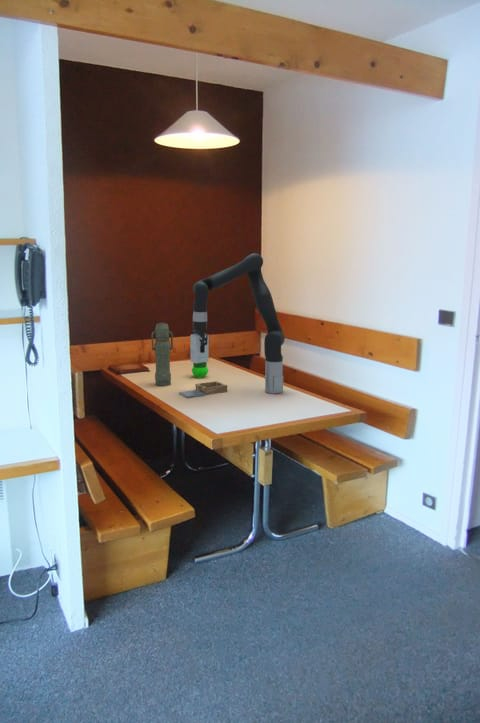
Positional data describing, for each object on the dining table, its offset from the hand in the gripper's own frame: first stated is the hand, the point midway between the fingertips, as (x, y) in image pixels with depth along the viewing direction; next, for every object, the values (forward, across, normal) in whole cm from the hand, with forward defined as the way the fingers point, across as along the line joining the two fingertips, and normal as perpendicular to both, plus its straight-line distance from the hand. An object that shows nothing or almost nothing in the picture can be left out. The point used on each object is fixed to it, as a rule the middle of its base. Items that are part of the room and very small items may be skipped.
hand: (199, 351), depth 304 cm
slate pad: (+23, -3, +6) cm, 23 cm away
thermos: (+23, +26, +9) cm, 36 cm away
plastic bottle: (+23, +33, -17) cm, 44 cm away
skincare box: (+6, 0, 0) cm, 6 cm away
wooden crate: (+22, 0, -7) cm, 24 cm away
